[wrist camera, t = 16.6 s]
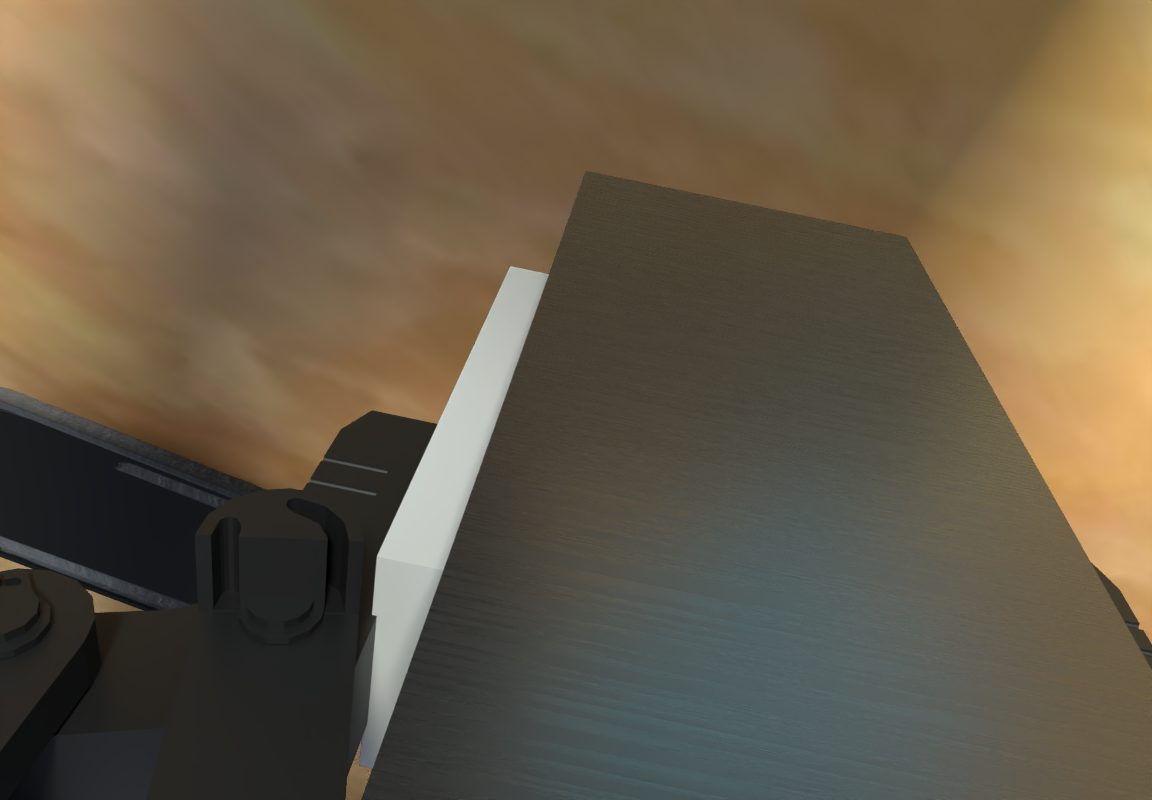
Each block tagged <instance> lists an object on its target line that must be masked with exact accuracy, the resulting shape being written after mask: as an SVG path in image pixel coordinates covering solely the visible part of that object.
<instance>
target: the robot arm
mask: <svg viewBox="0 0 1152 800" xmlns="http://www.w3.org/2000/svg"><path fill="white" fill-rule="evenodd" d="M548 276H549V274H546V273H541V272H536V271H532V270H527V269H522V268H517V267H512V266H510V268H509V270H508V272H507V275H506V277H505V279H504V281H503V283H502V285H501V288H500V290H499V292H498V294H497V296H496V298H495V301H494V303H493V305H492V307H491V309H490V312H489V314H488V316H487V318H486V320H485V322H484V325H483V327H482V329H481V331H480V333H479V335H478V338H477V340H476V342H475V344H474V346H473V348H472V351H471V353H470V355H469V357H468V359H467V362H466V364H465V366H464V368H463V370H462V372H461V375H460V377H459V379H458V381H457V383H456V385H455V388H454V390H453V392H452V394H451V396H450V398H449V401H448V403H447V405H446V407H445V409H444V412H443V414H442V416H441V418H440V420H439V422H438V424H434V423H430V422H425V421H420V420H415V419H410V418H406V417H401V416H396V415H391V414H387V413H382V412H377V411H370V412H369V413H367V414H365V415H364V416H362V417H360V418H359V419H357V420H356V421H354V422H352V423H351V424H349V425H347V426H346V427H344V428H343V429H341V430H340V432H339V433H338V435H337V437H336V438H335V440H334V441H333V443H332V445H331V446H330V448H329V449H328V451H327V453H326V454H325V456H324V460H323V461H321V462H320V464H319V465H318V467H317V468H316V470H315V472H314V473H313V475H312V476H311V480H310V483H307V484H306V486H305V488H304V489H303V491H302V490H297V489H291V488H290V489H275V490H259V491H256V492H253V493H250V494H247V495H243V496H240V497H237V498H234V499H231V500H229V501H227V502H226V503H224V504H223V505H221V506H220V507H218V508H217V509H216V510H214V511H213V512H211V513H210V514H208V515H207V516H206V518H205V520H204V521H203V523H202V524H201V526H200V527H199V529H198V530H197V532H196V533H195V552H196V573H197V595H198V603H197V604H193V605H189V606H186V607H182V608H174V609H165V610H156V611H130V612H105V613H95V612H94V605H93V598H92V596H91V595H90V594H89V593H88V592H87V591H86V589H85V588H84V587H83V586H82V585H81V584H80V583H79V582H78V581H77V580H75V579H72V578H69V577H67V576H64V575H61V574H59V573H56V572H54V571H51V570H34V569H13V570H7V571H1V572H0V800H345V798H346V784H347V776H348V773H349V771H350V768H351V765H352V763H353V760H354V757H355V755H356V752H357V750H358V747H359V744H360V742H361V752H360V764H359V766H363V767H368V768H373V766H374V763H375V760H376V758H377V755H378V752H379V749H380V746H381V744H382V741H383V738H384V735H385V732H386V730H387V727H388V724H389V721H390V718H391V716H392V713H393V710H394V707H395V704H396V702H397V699H398V696H399V693H400V690H401V688H402V685H403V682H404V679H405V676H406V674H407V671H408V668H409V665H410V662H411V660H412V657H413V654H414V651H415V648H416V646H417V643H418V640H419V637H420V634H421V632H422V629H423V626H424V623H425V620H426V618H427V615H428V612H429V609H430V606H431V603H432V601H433V598H434V595H435V592H436V589H437V587H438V584H439V581H440V578H441V575H442V573H443V570H444V567H445V564H446V561H447V559H448V556H449V553H450V550H451V547H452V545H453V542H454V539H455V536H456V533H457V531H458V528H459V525H460V522H461V519H462V517H463V514H464V511H465V508H466V505H467V503H468V500H469V497H470V494H471V491H472V489H473V486H474V483H475V480H476V477H477V475H478V472H479V469H480V466H481V463H482V461H483V458H484V455H485V452H486V449H487V447H488V444H489V441H490V438H491V435H492V433H493V430H494V427H495V424H496V421H497V419H498V416H499V413H500V410H501V407H502V405H503V402H504V399H505V396H506V393H507V391H508V388H509V385H510V382H511V379H512V377H513V374H514V371H515V368H516V365H517V363H518V360H519V357H520V354H521V351H522V349H523V346H524V343H525V340H526V337H527V335H528V332H529V329H530V326H531V323H532V321H533V318H534V315H535V312H536V309H537V307H538V304H539V301H540V298H541V295H542V293H543V290H544V287H545V284H546V281H547V279H548ZM1091 564H1092V563H1091ZM1092 566H1093V567H1094V569H1095V571H1096V573H1097V574H1098V576H1099V578H1100V580H1101V581H1102V583H1103V585H1104V587H1105V588H1106V590H1107V592H1108V594H1109V596H1110V597H1111V599H1112V601H1113V603H1114V604H1115V606H1116V608H1117V610H1118V611H1119V613H1120V615H1121V617H1122V618H1123V620H1124V622H1125V624H1126V625H1127V627H1128V629H1129V631H1130V633H1131V634H1132V636H1133V638H1134V640H1135V641H1136V643H1137V645H1138V647H1139V648H1140V650H1141V652H1142V654H1143V655H1144V657H1145V659H1146V661H1147V663H1148V664H1149V666H1150V668H1151V670H1152V644H1151V642H1150V641H1149V639H1148V637H1147V636H1146V634H1145V632H1144V630H1140V629H1139V628H1138V627H1139V622H1138V620H1137V619H1136V617H1135V615H1134V613H1133V612H1132V610H1131V608H1130V607H1129V605H1128V603H1127V601H1126V600H1125V598H1124V596H1123V595H1122V593H1121V591H1120V590H1119V589H1118V588H1117V587H1116V586H1115V585H1114V584H1113V583H1112V582H1111V581H1110V580H1109V579H1108V578H1107V577H1106V576H1105V575H1104V574H1103V573H1102V572H1101V571H1100V570H1099V569H1098V568H1096V567H1095V566H1094V565H1093V564H1092ZM361 739H362V740H361Z"/></svg>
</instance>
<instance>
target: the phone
mask: <svg viewBox="0 0 1152 800" xmlns="http://www.w3.org/2000/svg"><path fill="white" fill-rule="evenodd" d="M259 490H265V489H263V488H260V487H257V486H255V485H252V484H250V483H247V482H245V481H242V480H240V479H237V478H235V477H232V476H229V475H227V474H224V473H222V472H219V471H217V470H214V469H212V468H209V467H207V466H204V465H201V464H199V463H196V462H194V461H191V460H189V459H186V458H184V457H181V456H179V455H176V454H173V453H171V452H168V451H166V450H163V449H161V448H158V447H156V446H153V445H151V444H148V443H146V442H143V441H140V440H138V439H135V438H133V437H130V436H128V435H125V434H123V433H120V432H118V431H115V430H112V429H110V428H107V427H105V426H102V425H100V424H97V423H95V422H92V421H90V420H87V419H84V418H82V417H79V416H77V415H74V414H72V413H69V412H67V411H64V410H62V409H59V408H56V407H54V406H51V405H49V404H46V403H44V402H41V401H39V400H36V399H34V398H31V397H28V396H26V395H23V394H21V393H18V392H16V391H13V390H10V389H7V388H3V387H0V557H2V558H5V559H8V560H10V561H13V562H16V563H18V564H21V565H24V566H26V567H29V568H32V569H34V570H51V571H54V572H56V573H59V574H61V575H64V576H67V577H69V578H72V579H75V580H77V581H78V582H79V583H80V584H81V585H82V586H83V587H84V588H85V589H88V590H90V591H93V592H96V593H98V594H101V595H104V596H106V597H109V598H112V599H114V600H117V601H120V602H123V603H125V604H128V605H131V606H133V607H136V608H139V609H141V610H144V611H156V610H165V609H174V608H182V607H186V606H189V605H193V604H197V603H198V595H197V573H196V552H195V533H196V532H197V530H198V529H199V527H200V526H201V524H202V523H203V521H204V520H205V518H206V516H207V515H208V514H210V513H211V512H213V511H214V510H216V509H217V508H218V507H220V506H221V505H223V504H224V503H226V502H227V501H229V500H231V499H234V498H237V497H240V496H243V495H247V494H250V493H253V492H256V491H259Z"/></svg>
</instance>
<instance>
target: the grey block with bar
mask: <svg viewBox="0 0 1152 800" xmlns="http://www.w3.org/2000/svg"><path fill="white" fill-rule="evenodd" d="M362 800H1152V670H1151V668H1150V666H1149V664H1148V663H1147V661H1146V659H1145V657H1144V655H1143V654H1142V652H1141V650H1140V648H1139V647H1138V645H1137V643H1136V641H1135V640H1134V638H1133V636H1132V634H1131V633H1130V631H1129V629H1128V627H1127V625H1126V624H1125V622H1124V620H1123V618H1122V617H1121V615H1120V613H1119V611H1118V610H1117V608H1116V606H1115V604H1114V603H1113V601H1112V599H1111V597H1110V596H1109V594H1108V592H1107V590H1106V588H1105V587H1104V585H1103V583H1102V581H1101V580H1100V578H1099V576H1098V574H1097V573H1096V571H1095V569H1094V567H1093V566H1092V564H1091V562H1090V560H1089V558H1088V557H1087V555H1086V553H1085V551H1084V550H1083V548H1082V546H1081V544H1080V543H1079V541H1078V539H1077V537H1076V536H1075V534H1074V532H1073V530H1072V528H1071V527H1070V525H1069V523H1068V521H1067V520H1066V518H1065V516H1064V514H1063V513H1062V511H1061V509H1060V507H1059V506H1058V504H1057V502H1056V500H1055V498H1054V497H1053V495H1052V493H1051V491H1050V490H1049V488H1048V486H1047V484H1046V483H1045V481H1044V479H1043V477H1042V476H1041V474H1040V472H1039V470H1038V468H1037V467H1036V465H1035V463H1034V461H1033V460H1032V458H1031V456H1030V454H1029V453H1028V451H1027V449H1026V447H1025V446H1024V444H1023V442H1022V440H1021V439H1020V437H1019V435H1018V433H1017V431H1016V430H1015V428H1014V426H1013V424H1012V423H1011V421H1010V419H1009V417H1008V416H1007V414H1006V412H1005V410H1004V409H1003V407H1002V405H1001V403H1000V401H999V400H998V398H997V396H996V394H995V393H994V391H993V389H992V387H991V386H990V384H989V382H988V380H987V379H986V377H985V375H984V373H983V371H982V370H981V368H980V366H979V364H978V363H977V361H976V359H975V357H974V356H973V354H972V352H971V350H970V349H969V347H968V345H967V343H966V341H965V340H964V338H963V336H962V334H961V333H960V331H959V329H958V327H957V326H956V324H955V322H954V320H953V319H952V317H951V315H950V313H949V312H948V310H947V308H946V306H945V304H944V303H943V301H942V299H941V297H940V296H939V294H938V292H937V290H936V289H935V287H934V285H933V283H932V282H931V280H930V278H929V276H928V274H927V273H926V271H925V269H924V267H923V266H922V264H921V262H920V260H919V259H918V257H917V255H916V253H915V252H914V250H913V248H912V246H911V244H910V243H909V241H908V239H907V237H903V236H899V235H894V234H889V233H884V232H879V231H874V230H869V229H865V228H860V227H855V226H850V225H845V224H840V223H835V222H831V221H826V220H821V219H816V218H811V217H806V216H801V215H797V214H792V213H787V212H782V211H777V210H772V209H767V208H763V207H758V206H753V205H748V204H743V203H738V202H733V201H729V200H724V199H719V198H714V197H709V196H704V195H699V194H695V193H690V192H685V191H680V190H675V189H670V188H665V187H661V186H656V185H651V184H646V183H641V182H636V181H631V180H627V179H622V178H617V177H612V176H607V175H602V174H597V173H592V172H588V171H586V172H585V175H584V178H583V180H582V183H581V186H580V189H579V192H578V194H577V197H576V200H575V203H574V206H573V208H572V211H571V214H570V217H569V220H568V222H567V225H566V228H565V231H564V234H563V236H562V239H561V242H560V245H559V248H558V250H557V253H556V256H555V259H554V262H553V264H552V267H551V270H550V273H549V276H548V279H547V281H546V284H545V287H544V290H543V293H542V295H541V298H540V301H539V304H538V307H537V309H536V312H535V315H534V318H533V321H532V323H531V326H530V329H529V332H528V335H527V337H526V340H525V343H524V346H523V349H522V351H521V354H520V357H519V360H518V363H517V365H516V368H515V371H514V374H513V377H512V379H511V382H510V385H509V388H508V391H507V393H506V396H505V399H504V402H503V405H502V407H501V410H500V413H499V416H498V419H497V421H496V424H495V427H494V430H493V433H492V435H491V438H490V441H489V444H488V447H487V449H486V452H485V455H484V458H483V461H482V463H481V466H480V469H479V472H478V475H477V477H476V480H475V483H474V486H473V489H472V491H471V494H470V497H469V500H468V503H467V505H466V508H465V511H464V514H463V517H462V519H461V522H460V525H459V528H458V531H457V533H456V536H455V539H454V542H453V545H452V547H451V550H450V553H449V556H448V559H447V561H446V564H445V567H444V570H443V573H442V575H441V578H440V581H439V584H438V587H437V589H436V592H435V595H434V598H433V601H432V603H431V606H430V609H429V612H428V615H427V618H426V620H425V623H424V626H423V629H422V632H421V634H420V637H419V640H418V643H417V646H416V648H415V651H414V654H413V657H412V660H411V662H410V665H409V668H408V671H407V674H406V676H405V679H404V682H403V685H402V688H401V690H400V693H399V696H398V699H397V702H396V704H395V707H394V710H393V713H392V716H391V718H390V721H389V724H388V727H387V730H386V732H385V735H384V738H383V741H382V744H381V746H380V749H379V752H378V755H377V758H376V760H375V763H374V766H373V769H372V772H371V774H370V777H369V780H368V783H367V786H366V788H365V791H364V794H363V797H362Z"/></svg>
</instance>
